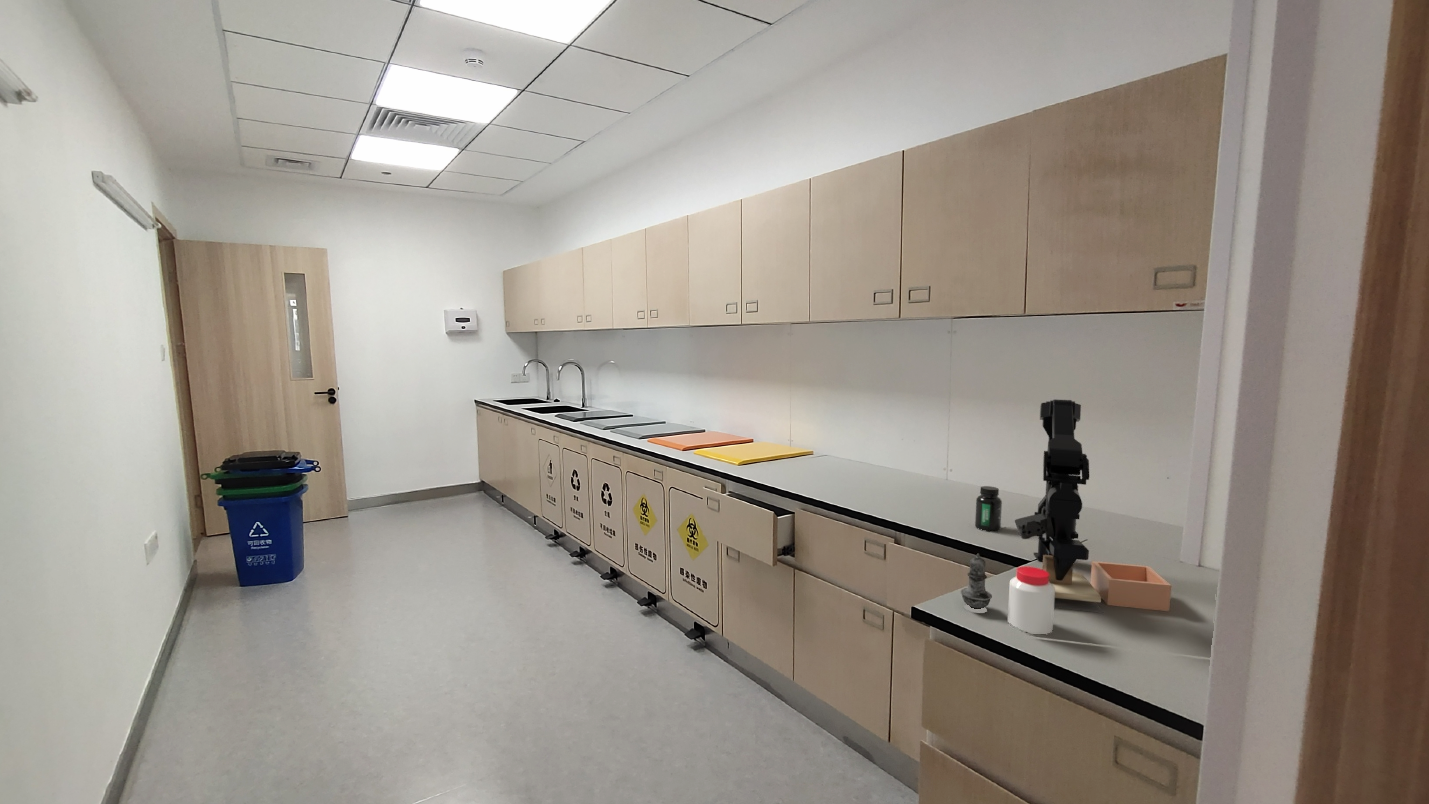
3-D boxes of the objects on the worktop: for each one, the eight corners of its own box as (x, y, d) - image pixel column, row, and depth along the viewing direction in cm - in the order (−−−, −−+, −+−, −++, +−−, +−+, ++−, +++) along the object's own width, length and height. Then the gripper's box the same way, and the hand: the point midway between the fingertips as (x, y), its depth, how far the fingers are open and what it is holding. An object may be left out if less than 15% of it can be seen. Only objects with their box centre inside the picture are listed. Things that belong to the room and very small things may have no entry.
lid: (1016, 572, 140) (1018, 545, 139) (1081, 578, 136) (1082, 551, 136) (1029, 595, 127) (1031, 566, 127) (1100, 602, 124) (1102, 572, 123)
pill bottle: (1038, 617, 122) (1041, 564, 121) (1061, 636, 114) (1065, 579, 113) (999, 618, 122) (1002, 564, 121) (1020, 637, 114) (1023, 579, 113)
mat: (1013, 580, 141) (1013, 579, 140) (1082, 587, 137) (1082, 585, 137) (1026, 606, 127) (1027, 604, 127) (1103, 614, 123) (1103, 612, 123)
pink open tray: (1090, 587, 138) (1092, 561, 137) (1146, 592, 135) (1148, 566, 134) (1107, 607, 127) (1109, 579, 127) (1168, 614, 124) (1171, 585, 124)
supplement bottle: (987, 533, 175) (989, 491, 174) (969, 526, 182) (971, 486, 180) (1005, 530, 178) (1008, 489, 177) (987, 523, 184) (989, 484, 183)
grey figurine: (965, 601, 129) (967, 546, 128) (994, 609, 126) (997, 552, 124) (955, 611, 125) (958, 553, 124) (986, 619, 121) (989, 560, 120)
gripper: (1011, 492, 141) (1007, 558, 143) (1029, 514, 123) (1024, 590, 125) (1065, 495, 138) (1061, 563, 140) (1091, 519, 120) (1086, 596, 122)
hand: (1056, 577), depth 131 cm, fingers closed on lid, 3 cm apart
